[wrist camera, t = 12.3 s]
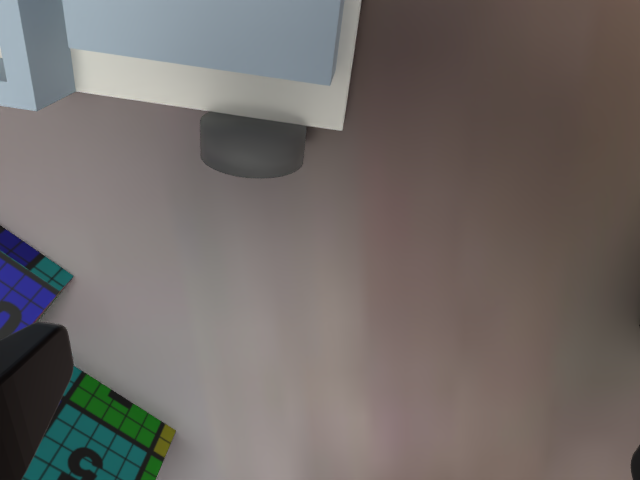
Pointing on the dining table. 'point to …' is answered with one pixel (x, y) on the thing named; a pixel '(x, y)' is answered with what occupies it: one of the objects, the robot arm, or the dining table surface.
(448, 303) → the dining table surface
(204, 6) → the chassis
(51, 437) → the block puzzle
